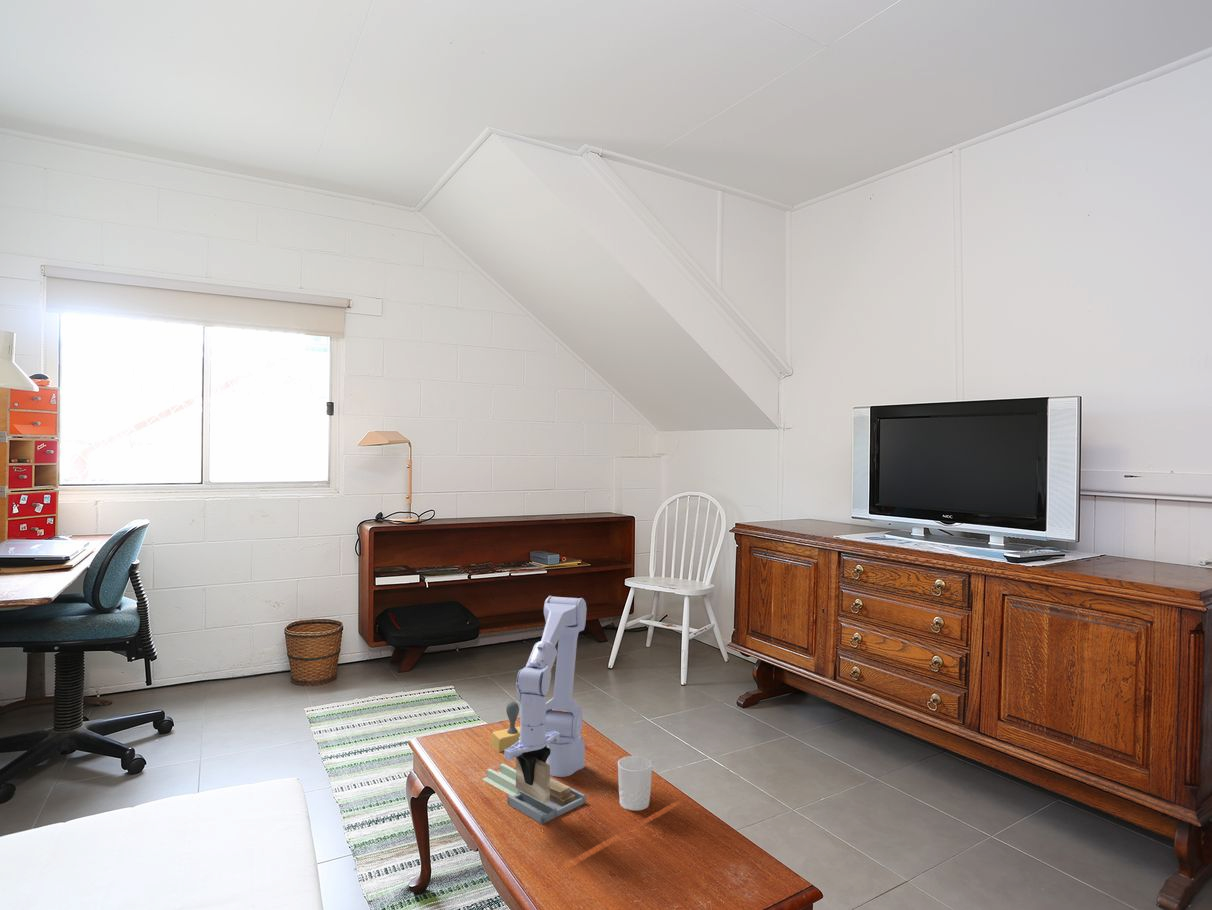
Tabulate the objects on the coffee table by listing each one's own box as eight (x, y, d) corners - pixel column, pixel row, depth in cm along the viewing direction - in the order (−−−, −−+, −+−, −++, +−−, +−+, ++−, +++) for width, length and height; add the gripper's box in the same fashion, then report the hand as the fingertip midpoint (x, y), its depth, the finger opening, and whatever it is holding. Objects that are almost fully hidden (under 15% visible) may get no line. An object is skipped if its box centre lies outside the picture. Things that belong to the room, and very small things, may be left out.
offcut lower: (552, 789, 169) (552, 783, 169) (575, 801, 163) (575, 795, 163) (540, 794, 166) (540, 788, 166) (563, 807, 161) (563, 801, 161)
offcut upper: (550, 785, 168) (551, 779, 168) (570, 792, 164) (570, 786, 164) (541, 790, 166) (541, 784, 166) (560, 798, 162) (560, 792, 162)
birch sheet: (520, 785, 163) (521, 751, 163) (549, 801, 156) (549, 765, 156) (515, 787, 162) (515, 753, 162) (544, 803, 155) (544, 767, 155)
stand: (507, 771, 180) (507, 761, 180) (538, 788, 171) (538, 777, 171) (481, 782, 174) (481, 771, 174) (512, 799, 165) (512, 788, 165)
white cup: (656, 802, 165) (657, 759, 165) (644, 818, 158) (644, 773, 158) (625, 795, 168) (625, 753, 168) (611, 810, 161) (612, 766, 161)
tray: (550, 788, 171) (550, 777, 171) (585, 806, 163) (585, 794, 163) (507, 807, 162) (507, 796, 162) (542, 827, 154) (542, 815, 154)
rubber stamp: (499, 752, 191) (499, 708, 191) (491, 744, 196) (491, 701, 196) (533, 745, 196) (533, 701, 196) (524, 737, 201) (525, 695, 201)
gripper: (545, 708, 167) (545, 765, 167) (495, 725, 157) (495, 786, 157) (566, 716, 162) (565, 775, 162) (516, 735, 152) (515, 798, 152)
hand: (532, 781), depth 159 cm, fingers closed on birch sheet, 1 cm apart
